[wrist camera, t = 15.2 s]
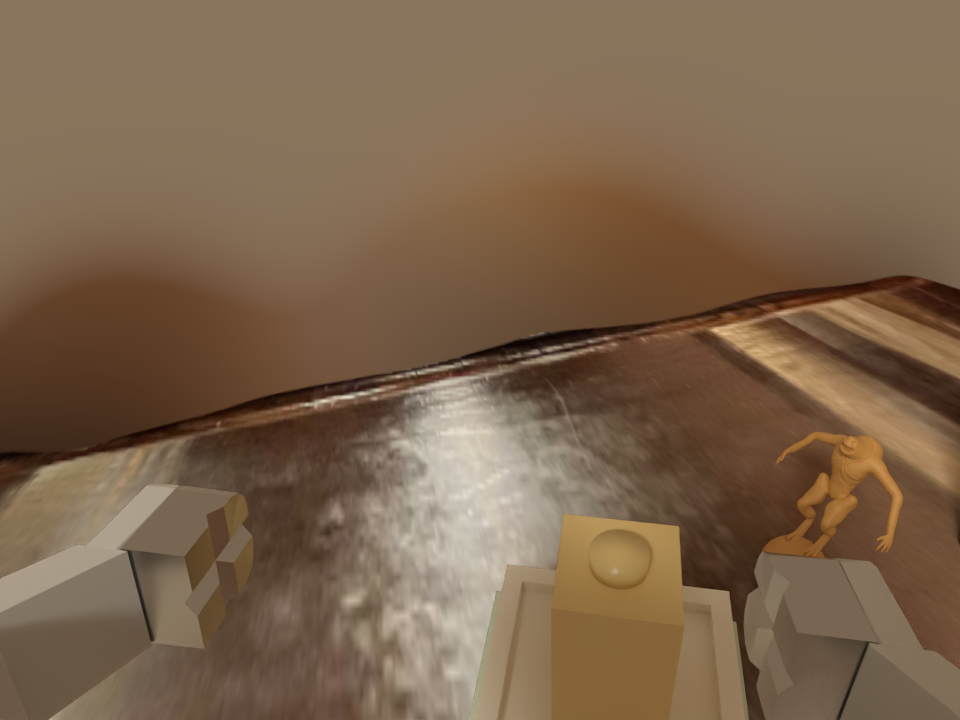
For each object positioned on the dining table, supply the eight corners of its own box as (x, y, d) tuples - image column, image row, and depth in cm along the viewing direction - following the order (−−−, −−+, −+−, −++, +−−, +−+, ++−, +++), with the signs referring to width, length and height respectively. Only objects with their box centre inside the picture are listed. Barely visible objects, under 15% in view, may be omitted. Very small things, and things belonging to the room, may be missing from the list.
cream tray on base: (446, 878, 31) (431, 810, 28) (499, 621, 43) (493, 548, 39) (762, 948, 29) (793, 883, 25) (728, 653, 40) (746, 578, 36)
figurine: (720, 552, 46) (747, 415, 40) (789, 524, 48) (825, 388, 41) (812, 651, 40) (862, 507, 33) (888, 615, 41) (950, 471, 35)
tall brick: (552, 731, 31) (550, 595, 26) (562, 636, 35) (563, 501, 30) (663, 750, 30) (686, 612, 25) (661, 650, 34) (680, 513, 29)
